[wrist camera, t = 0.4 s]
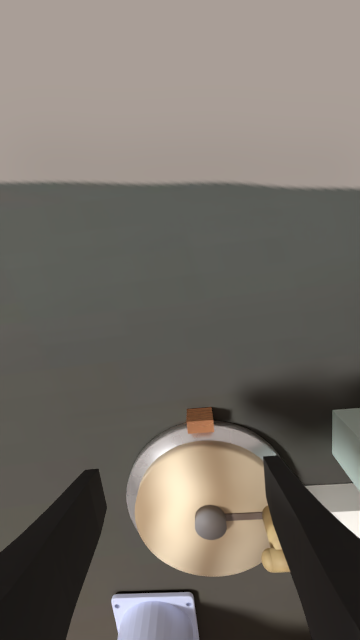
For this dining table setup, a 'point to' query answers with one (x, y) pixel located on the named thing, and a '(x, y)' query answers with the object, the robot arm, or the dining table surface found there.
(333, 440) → the block
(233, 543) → the crank
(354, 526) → the tray
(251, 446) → the crank base
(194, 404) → the dining table surface
